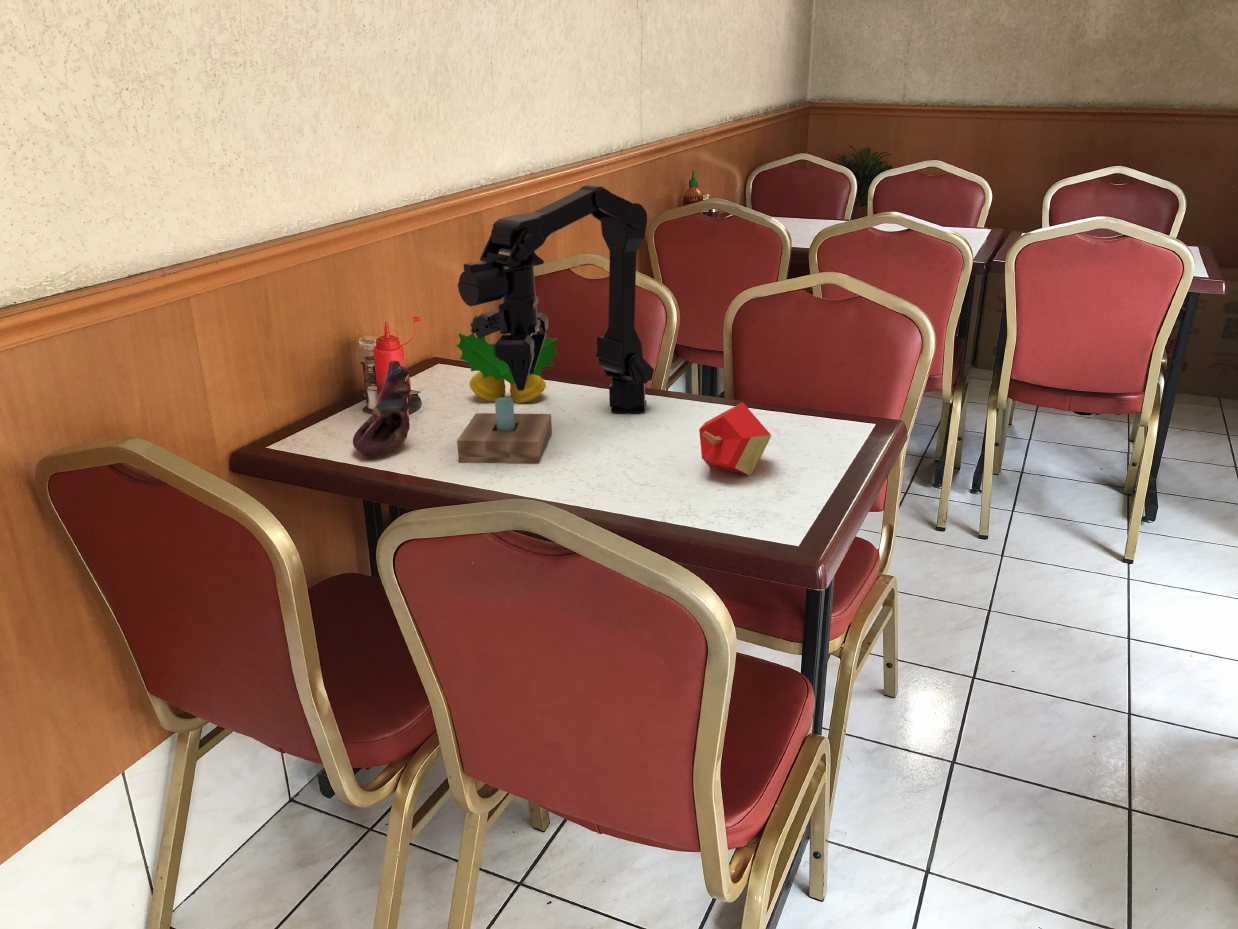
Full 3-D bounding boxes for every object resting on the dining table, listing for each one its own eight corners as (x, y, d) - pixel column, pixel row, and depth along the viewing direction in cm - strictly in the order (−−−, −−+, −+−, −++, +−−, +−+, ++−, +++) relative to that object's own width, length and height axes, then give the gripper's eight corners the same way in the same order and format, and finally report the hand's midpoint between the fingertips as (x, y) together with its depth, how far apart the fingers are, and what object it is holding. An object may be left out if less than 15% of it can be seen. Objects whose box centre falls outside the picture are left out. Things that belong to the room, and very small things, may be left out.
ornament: (567, 393, 201) (564, 322, 195) (561, 406, 193) (557, 333, 187) (469, 392, 203) (463, 322, 197) (459, 405, 195) (453, 332, 189)
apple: (781, 477, 163) (744, 479, 150) (716, 468, 169) (676, 468, 156) (790, 407, 162) (753, 402, 149) (724, 400, 168) (684, 395, 156)
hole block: (551, 434, 178) (550, 413, 177) (538, 463, 166) (537, 441, 164) (477, 433, 180) (475, 413, 178) (458, 462, 167) (456, 440, 165)
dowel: (517, 439, 174) (514, 397, 171) (513, 445, 171) (511, 402, 168) (500, 439, 174) (497, 396, 171) (496, 445, 171) (493, 402, 168)
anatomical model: (340, 452, 173) (329, 371, 167) (399, 432, 181) (390, 355, 175) (370, 465, 167) (359, 381, 161) (429, 444, 175) (421, 364, 169)
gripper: (484, 282, 174) (492, 365, 180) (458, 309, 157) (468, 399, 163) (545, 281, 173) (551, 365, 179) (526, 308, 156) (533, 399, 162)
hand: (525, 381), depth 171 cm, fingers open, 9 cm apart
